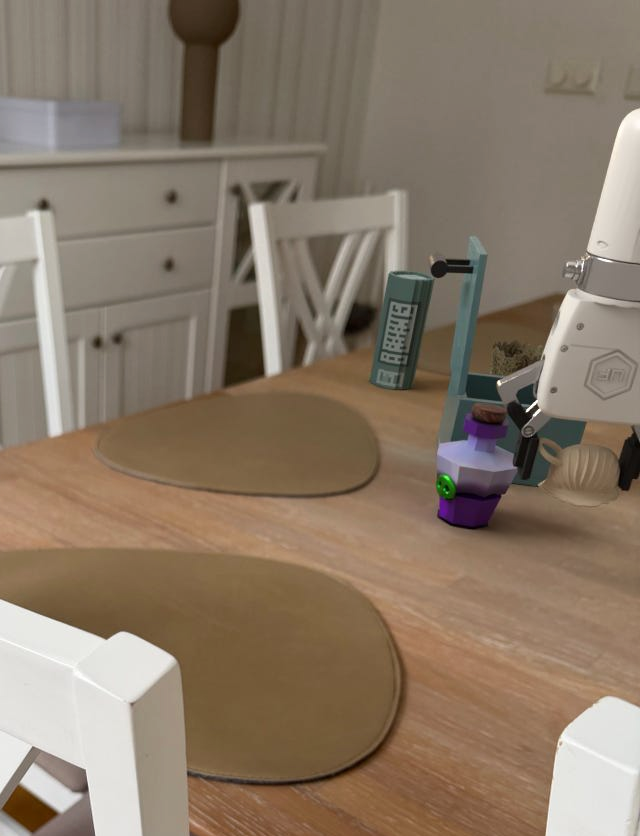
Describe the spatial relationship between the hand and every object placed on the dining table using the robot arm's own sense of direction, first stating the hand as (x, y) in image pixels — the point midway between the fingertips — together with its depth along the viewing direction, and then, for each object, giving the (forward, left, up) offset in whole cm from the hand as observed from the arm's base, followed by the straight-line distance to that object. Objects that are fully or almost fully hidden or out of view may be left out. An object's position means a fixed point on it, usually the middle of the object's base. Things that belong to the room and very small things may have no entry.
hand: (571, 479), depth 89 cm
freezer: (+1, -27, -9) cm, 28 cm away
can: (+13, -56, -9) cm, 58 cm away
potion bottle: (+7, -9, -9) cm, 15 cm away
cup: (-3, -52, -9) cm, 52 cm away
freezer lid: (+8, -27, +8) cm, 29 cm away
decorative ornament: (0, 0, -2) cm, 2 cm away
